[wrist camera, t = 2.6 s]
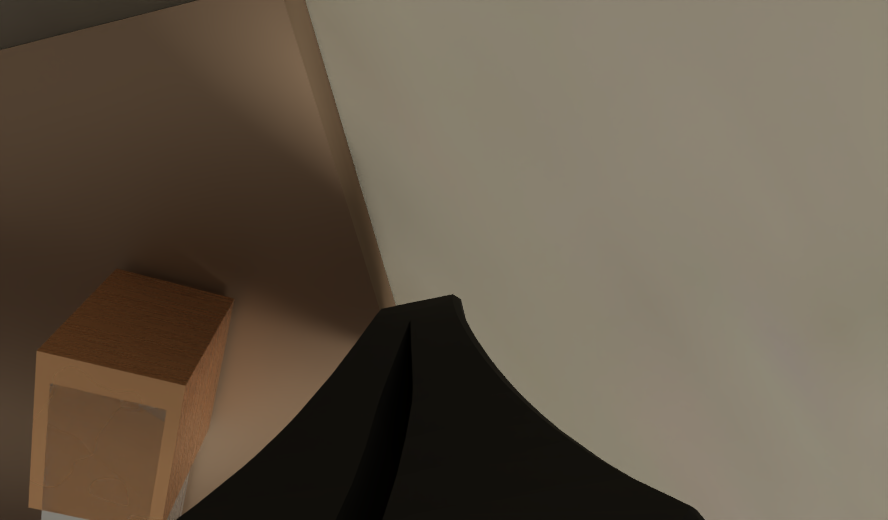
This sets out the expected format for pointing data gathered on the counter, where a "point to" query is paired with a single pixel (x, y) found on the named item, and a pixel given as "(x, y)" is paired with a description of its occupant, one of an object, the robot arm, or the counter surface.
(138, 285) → the tongs swing arm
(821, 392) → the counter surface
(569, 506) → the robot arm
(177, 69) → the walnut board
